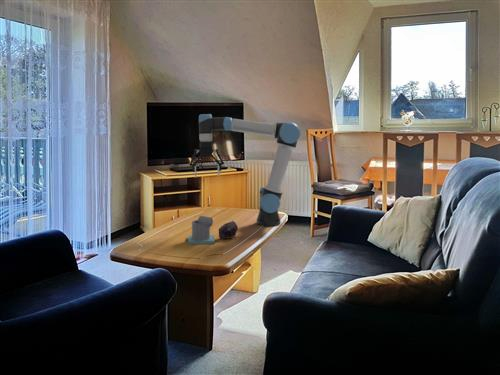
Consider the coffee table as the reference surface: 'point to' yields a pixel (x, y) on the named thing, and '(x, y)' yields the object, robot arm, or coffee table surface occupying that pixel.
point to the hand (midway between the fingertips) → (207, 177)
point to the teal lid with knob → (209, 241)
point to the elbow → (201, 228)
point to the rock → (228, 230)
